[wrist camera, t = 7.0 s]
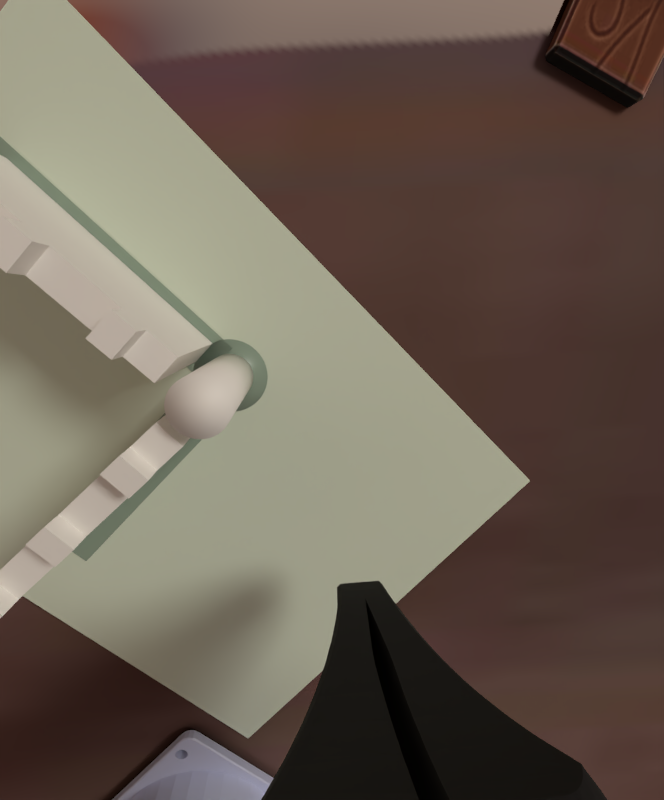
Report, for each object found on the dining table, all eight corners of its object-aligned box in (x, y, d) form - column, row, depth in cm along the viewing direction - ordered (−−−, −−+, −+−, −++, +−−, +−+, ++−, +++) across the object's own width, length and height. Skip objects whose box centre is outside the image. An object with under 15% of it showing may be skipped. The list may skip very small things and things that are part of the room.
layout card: (248, 733, 18) (248, 739, 18) (-281, 397, 13) (-291, 399, 13) (527, 478, 16) (530, 481, 16) (38, -28, 11) (32, -36, 11)
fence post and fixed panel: (233, 406, 14) (201, 452, 10) (-17, 190, 12) (-210, 118, 7) (262, 375, 14) (245, 407, 9) (15, 150, 12) (-161, 50, 7)
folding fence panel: (196, 390, 14) (146, 429, 9) (215, 408, 14) (175, 455, 9) (43, 534, 14) (-70, 634, 10) (63, 549, 15) (-40, 654, 10)
